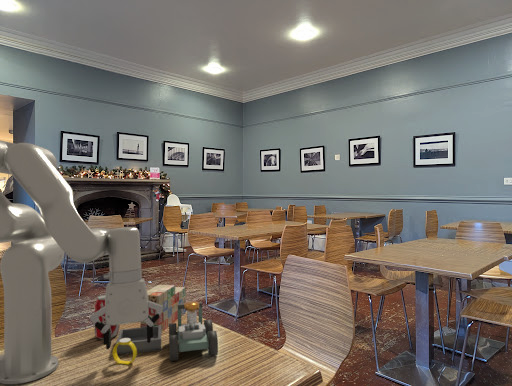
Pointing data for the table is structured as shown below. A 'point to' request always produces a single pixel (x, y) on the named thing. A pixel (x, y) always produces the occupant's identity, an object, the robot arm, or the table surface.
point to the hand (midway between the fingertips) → (129, 343)
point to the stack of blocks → (166, 304)
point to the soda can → (99, 305)
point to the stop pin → (191, 314)
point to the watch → (124, 342)
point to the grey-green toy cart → (192, 336)
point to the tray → (139, 340)
